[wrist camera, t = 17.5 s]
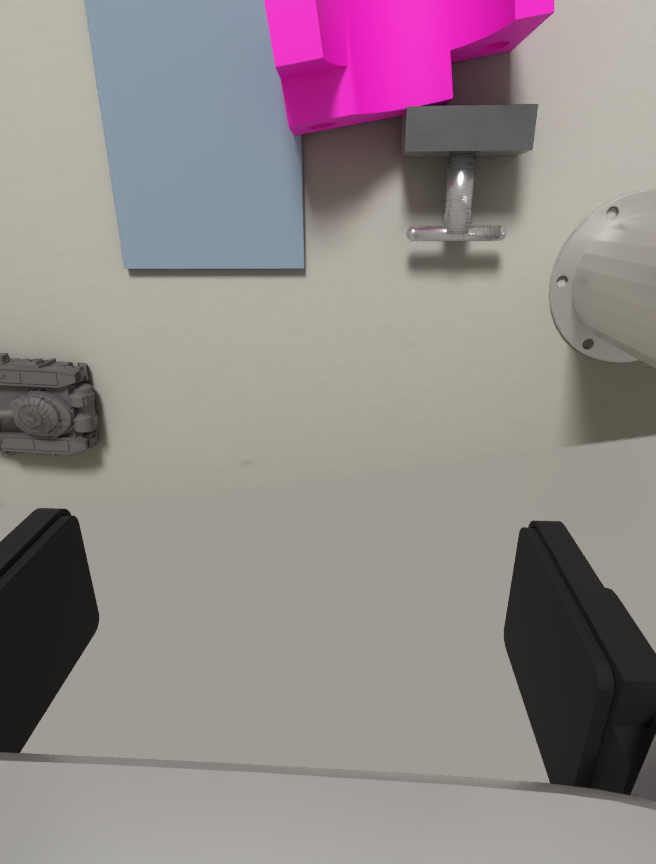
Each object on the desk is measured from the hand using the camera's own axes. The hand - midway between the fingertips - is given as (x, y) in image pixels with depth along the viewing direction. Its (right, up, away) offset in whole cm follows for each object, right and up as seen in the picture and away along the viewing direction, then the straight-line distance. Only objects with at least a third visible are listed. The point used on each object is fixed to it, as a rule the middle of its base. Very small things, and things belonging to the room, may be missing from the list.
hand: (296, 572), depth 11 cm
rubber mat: (-8, +26, +26) cm, 37 cm away
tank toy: (-25, +6, +36) cm, 44 cm away
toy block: (+5, +28, +24) cm, 37 cm away
